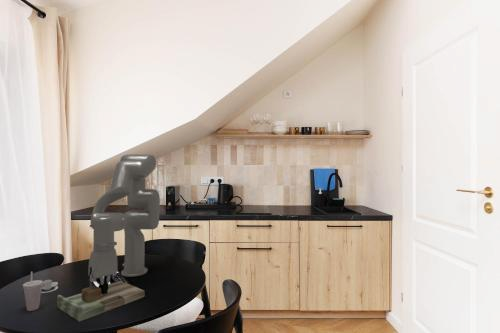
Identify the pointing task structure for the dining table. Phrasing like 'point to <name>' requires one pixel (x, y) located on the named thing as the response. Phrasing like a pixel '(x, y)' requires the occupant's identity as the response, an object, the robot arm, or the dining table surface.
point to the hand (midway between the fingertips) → (103, 293)
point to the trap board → (99, 301)
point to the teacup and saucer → (49, 285)
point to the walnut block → (91, 294)
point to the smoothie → (32, 293)
